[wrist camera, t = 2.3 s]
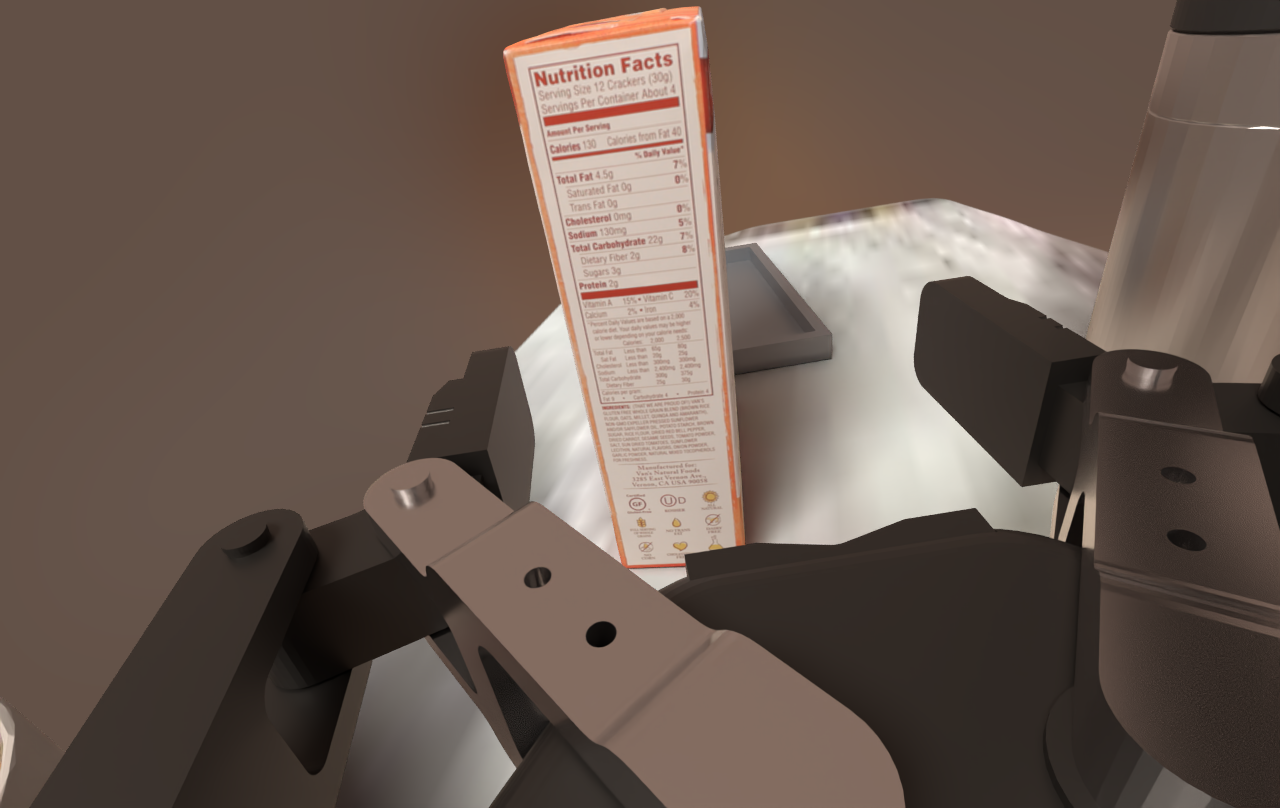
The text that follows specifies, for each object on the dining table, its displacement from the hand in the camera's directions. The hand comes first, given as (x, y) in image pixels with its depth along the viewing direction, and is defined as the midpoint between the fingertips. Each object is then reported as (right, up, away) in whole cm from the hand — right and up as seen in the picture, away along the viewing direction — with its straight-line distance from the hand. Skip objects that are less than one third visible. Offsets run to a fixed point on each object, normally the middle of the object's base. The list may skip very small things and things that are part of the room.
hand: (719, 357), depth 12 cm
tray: (+4, +6, +37) cm, 38 cm away
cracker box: (+1, -5, +21) cm, 22 cm away
